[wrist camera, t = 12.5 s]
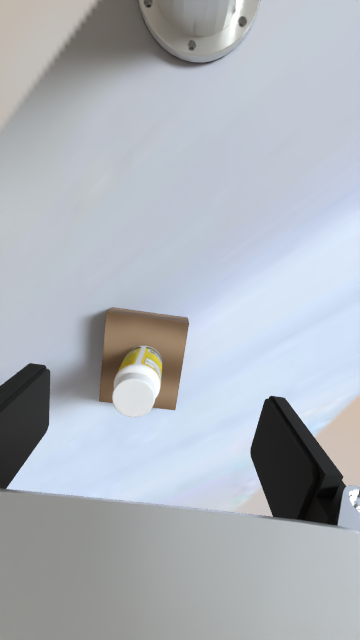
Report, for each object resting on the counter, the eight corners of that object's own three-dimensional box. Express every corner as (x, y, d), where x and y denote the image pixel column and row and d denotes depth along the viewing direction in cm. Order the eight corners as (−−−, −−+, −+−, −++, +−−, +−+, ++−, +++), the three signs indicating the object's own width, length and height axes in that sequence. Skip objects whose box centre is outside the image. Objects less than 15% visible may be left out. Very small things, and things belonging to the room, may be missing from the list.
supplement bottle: (123, 378, 31) (106, 419, 23) (125, 343, 30) (107, 373, 22) (161, 381, 32) (156, 422, 24) (164, 346, 31) (160, 377, 22)
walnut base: (112, 307, 32) (106, 311, 29) (187, 317, 33) (188, 323, 30) (105, 389, 35) (99, 401, 32) (175, 398, 36) (175, 410, 33)
